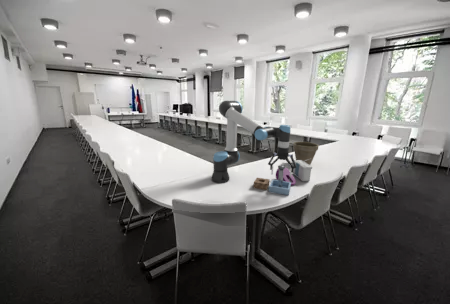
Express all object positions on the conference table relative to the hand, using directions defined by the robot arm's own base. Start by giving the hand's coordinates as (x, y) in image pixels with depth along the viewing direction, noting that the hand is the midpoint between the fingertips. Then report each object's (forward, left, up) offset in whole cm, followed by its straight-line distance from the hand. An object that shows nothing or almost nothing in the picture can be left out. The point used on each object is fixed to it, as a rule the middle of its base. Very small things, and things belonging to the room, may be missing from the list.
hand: (281, 175), depth 146 cm
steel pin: (0, 0, -11) cm, 11 cm away
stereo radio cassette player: (+13, +34, -12) cm, 38 cm away
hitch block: (-14, 0, -12) cm, 18 cm away
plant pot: (+14, +80, -12) cm, 82 cm away
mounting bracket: (+2, +19, -12) cm, 22 cm away
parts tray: (0, 0, -12) cm, 12 cm away
